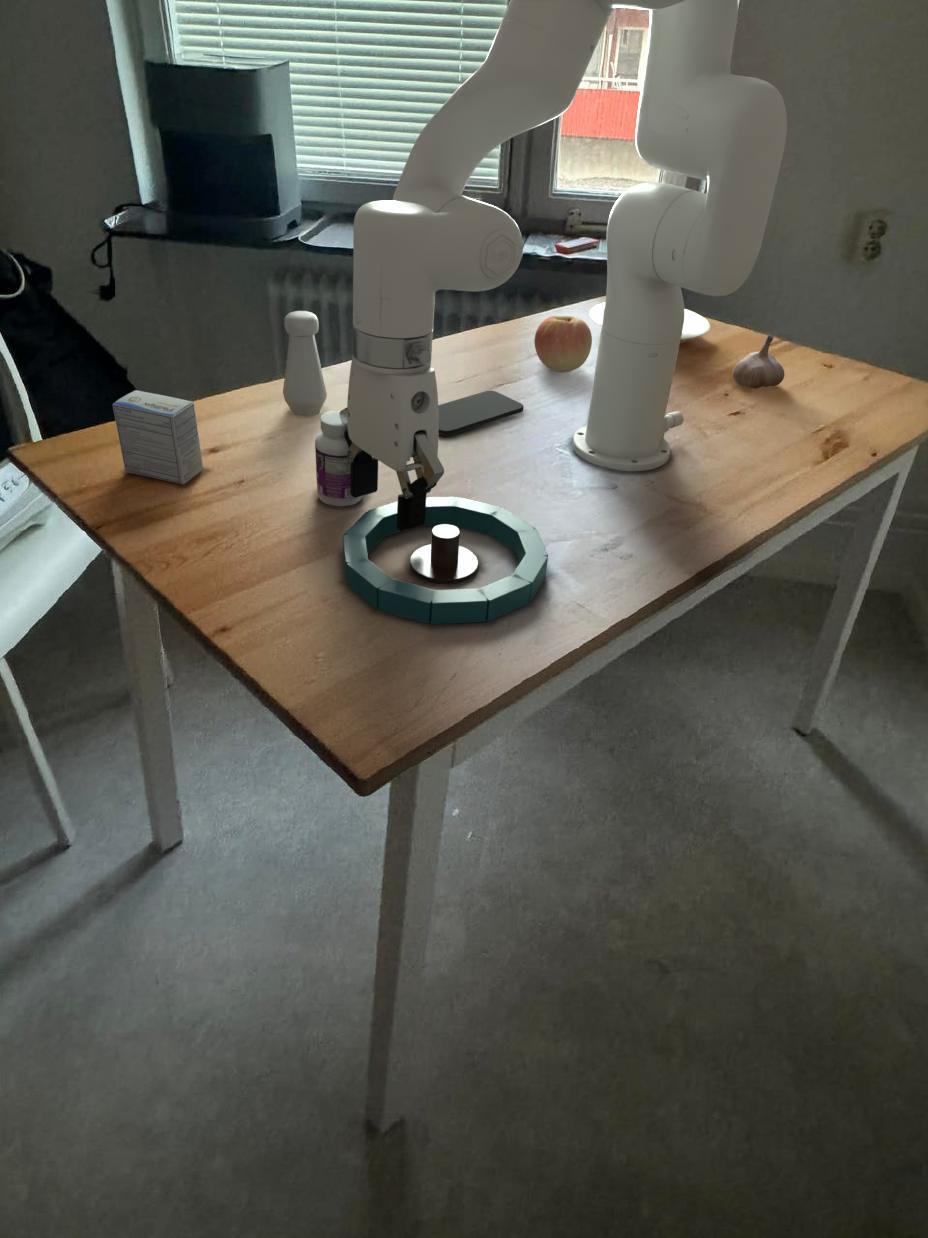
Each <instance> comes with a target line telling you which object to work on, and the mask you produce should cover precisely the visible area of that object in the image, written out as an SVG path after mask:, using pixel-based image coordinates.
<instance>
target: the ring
mask: <svg viewBox="0 0 928 1238" xmlns="http://www.w3.org/2000/svg"><path fill="white" fill-rule="evenodd" d="M397 507H398V500H397V501H394V502H391V503H387V504H384V505H381V506H378V507H375V508H372V509H368V510H367V511H365V512H364V513H363V514H362V515H361V516H360V517H359V518H358V519H357V520H356V521H355V522H354V523H353V524H352V525H351V526H350V527H349V528H348V529H347V530H346V531H345V532H344V533H343V535H342V544H343V545H342V546H343V563H344V577H345V583H346V585H348V587H350V588H351V589H352V590H353V591H355V592H356V593H357V594H358V595H359V596H360V597H362V598H363V599H364V600H365V601H366V602H367V603H369V604H370V605H371V606H372V607H373V608H375V609H376V610H378V611H380V612H384V613H388V614H392V615H394V616H398V617H402V618H406V619H409V620H412V621H416V622H420V623H423V624H427V625H430V624H431V625H443V624H444V625H445V624H466V623H467V624H469V623H486V622H490V621H492V620H495V619H496V618H499V617H501V616H504V615H506V614H508V613H511V612H512V611H515V610H518V609H520V608H521V607H525V606H526V605H528V604H530V603H531V601H532V600H533V598H534V596H535V595H536V594H537V591H538V590H539V588H540V586H541V585H542V583H543V581H544V580H545V578H546V575H547V568H548V560H549V554H548V552H547V549H546V546H545V545H544V543H543V540H542V538H541V536H540V533H539V531H538V529H536V527H535V526H533V525H531V524H530V523H528V522H527V521H526V520H523V519H522V518H520V516H517V515H516V514H514V513H513V512H511V511H509V510H508V509H506V508H504V507H503V506H498V505H495V504H490V503H485V502H481V501H477V500H473V499H469V498H465V497H459V496H426V510H425V522H424V524H423V525H422V526H421V527H435V526H437V525H442V524H448V525H453V526H455V527H459V528H463V529H468V530H471V531H475V532H479V533H484V534H488V535H491V536H492V537H493V538H495V540H498V541H499V542H501V543H503V544H504V545H505V546H507V547H508V548H510V549H511V550H512V551H515V554H516V557H517V559H518V562H519V564H518V565H517V567H516V568H515V570H514V571H513V573H512V574H509V575H508V576H506V577H503V578H501V579H499V580H496V581H493V582H491V583H489V584H486V585H484V586H482V587H479V588H459V589H458V588H455V589H432V588H428V587H424V586H421V585H417V584H413V583H409V582H406V581H401V580H398V579H394V578H392V576H390V575H388V574H387V573H386V572H385V571H384V570H383V569H381V568H380V567H379V566H377V565H376V564H375V563H374V562H373V561H371V560H370V559H369V558H368V554H369V553H370V552H371V551H372V550H373V548H374V547H376V546H377V544H378V543H379V542H380V541H381V540H382V539H383V538H385V537H387V536H391V535H394V534H396V533H397V534H398V533H399V532H401V531H400V530H398V529H397Z"/></svg>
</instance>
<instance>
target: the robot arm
mask: <svg viewBox="0 0 928 1238" xmlns="http://www.w3.org/2000/svg"><path fill="white" fill-rule="evenodd" d="M616 8H623V9H634V10H645V11H649V25H648V36H647V43H646V51H645V58H644V67H643V73H642V80H641V86H640V87H641V88H640V95H639V101H638V109H637V114H636V116H637V117H636V125H635V148H636V151H637V153H638V156H639V157H640V159H641V160H642V161H643V162H645V163H646V164H647V165H649V166H651V167H653V168H656V169H658V170H662V171H664V170H665V171H668V172H672V173H676V174H680V175H684V176H687V177H690V178H694V179H696V180H702V181H707V187H706V193H705V192H701V191H698V190H695V189H692V188H686V187H685V188H684V187H679V186H675V185H671V184H666V183H662V182H659V181H658V182H657V181H651V182H650V181H648V182H643V183H638V184H636V185H633V186H630V188H628V189H627V190H625V191H624V192H623V193H622V194H621V195H620V196H619V198H618V199H617V200H616V201H615V203H614V205H613V206H612V209H611V211H610V214H609V217H608V220H607V226H606V235H605V237H606V239H605V241H606V244H605V245H606V265H607V271H606V273H607V274H606V275H607V277H606V292H605V301H604V303H605V308H604V315H603V322H602V326H601V328H600V329H601V330H600V335H599V336H600V337H599V340H598V341H599V343H598V349H597V355H596V361H595V367H594V368H595V369H594V375H593V383H592V390H591V395H590V403H589V409H588V414H587V415H588V416H587V421H586V422H587V423H586V425H585V426H583V427H581V428H579V429H578V430H576V431H575V432H574V433H573V437H572V444H571V445H572V449H573V451H574V452H575V453H576V455H578V456H579V457H580V458H582V459H583V460H585V461H587V462H588V463H591V464H593V465H595V466H598V467H602V468H605V469H608V470H609V469H610V470H614V471H622V472H643V471H650V470H654V469H657V468H659V467H662V466H664V464H666V463H667V462H668V460H669V459H670V455H671V446H670V444H669V442H668V441H667V440H666V439H665V435H666V433H667V432H668V431H669V430H670V429H673V428H675V427H678V426H681V425H683V423H684V415H683V413H682V412H681V411H679V410H677V411H673V412H669V413H667V408H668V403H669V399H670V393H671V388H672V383H673V379H674V374H675V369H676V364H677V359H678V356H679V355H678V353H679V349H680V344H681V343H680V340H681V336H682V331H683V325H684V309H685V302H684V296H683V291H682V289H686V290H688V291H691V292H694V293H698V294H701V295H704V296H709V297H725V296H729V295H731V294H734V293H735V292H736V291H737V290H739V289H740V288H741V287H742V286H743V285H744V284H745V283H746V282H747V280H748V278H749V277H750V275H751V274H752V272H753V269H754V268H755V265H756V263H757V260H758V258H759V254H760V251H761V247H762V244H763V240H764V236H765V233H766V232H765V231H766V228H767V223H768V220H769V215H770V213H771V212H770V211H771V206H772V204H773V203H772V202H773V199H774V194H775V191H776V186H777V183H778V182H777V181H778V178H779V173H780V169H781V164H782V160H783V157H784V152H785V146H786V142H787V134H788V118H787V117H788V116H787V109H786V104H785V100H784V98H783V96H782V94H781V93H780V91H779V90H778V89H777V87H775V85H773V84H772V83H770V82H768V81H766V80H763V79H762V78H759V77H753V76H748V75H747V76H746V75H741V74H740V75H738V74H732V72H731V66H732V65H731V63H732V57H733V50H734V42H735V37H736V30H737V24H738V16H739V3H738V0H509V3H508V5H507V8H506V10H505V13H504V15H503V17H502V20H501V23H500V24H499V26H498V29H497V32H496V34H495V36H494V39H493V41H492V44H491V46H490V48H489V51H488V53H487V56H486V57H485V59H484V61H483V62H482V64H481V65H480V66H479V67H478V69H476V71H475V72H474V73H472V75H470V76H469V77H468V78H467V79H466V80H465V81H464V82H463V83H462V84H461V85H460V86H458V88H456V90H455V91H454V92H453V93H452V94H451V95H450V96H449V98H448V99H447V100H446V101H445V102H444V103H443V105H442V106H440V108H439V109H438V110H437V111H436V112H435V113H434V114H433V115H432V117H431V118H430V119H429V121H428V122H427V123H426V124H425V125H424V127H423V129H422V130H421V131H420V133H419V134H418V136H417V138H416V140H415V142H414V144H413V146H412V148H411V149H410V153H409V154H408V157H407V159H406V162H405V165H404V167H403V169H402V172H401V175H400V177H399V179H398V183H397V185H396V189H395V190H394V194H393V197H392V200H374V201H369V202H366V203H364V204H362V205H361V206H360V207H359V208H358V209H357V211H356V213H355V215H354V219H353V240H352V241H353V251H352V254H353V255H352V256H353V257H352V258H353V259H352V262H353V263H352V357H351V363H350V369H349V377H348V389H347V402H346V405H347V406H346V407H345V408H343V409H341V410H339V411H340V413H339V415H340V419H341V422H342V424H344V426H345V430H346V431H345V432H344V438H345V440H346V442H347V444H348V447H349V450H348V452H347V454H348V458H349V460H350V461H353V462H351V472H350V494H351V495H352V496H353V497H355V498H356V497H360V496H363V495H364V496H366V495H370V494H373V493H377V491H378V488H379V487H378V486H379V462H380V463H381V464H383V465H385V466H386V467H388V468H390V469H392V470H393V471H395V472H396V475H397V479H398V483H399V486H400V489H401V494H398V496H397V501H398V507H397V529H398V530H400V532H405V531H408V530H412V529H415V528H418V527H423V526H422V525H423V524H424V522H425V510H426V497H427V494H429V493H431V491H432V489H434V488H435V487H436V486H437V483H438V482H439V481H440V479H441V478H442V477H443V475H444V474H445V468H444V466H443V464H442V462H441V460H440V459H439V456H438V454H439V435H440V434H439V412H438V405H439V395H438V394H439V393H438V383H437V377H436V372H435V371H436V370H435V368H433V367H432V366H431V365H432V355H433V353H432V352H433V337H434V336H433V335H434V324H435V323H434V320H435V306H436V305H435V304H436V292H438V291H440V290H443V291H444V290H445V291H459V292H460V291H462V292H484V291H490V290H493V289H496V288H498V287H500V286H501V285H503V284H505V283H506V282H508V281H509V279H510V278H512V276H513V275H514V274H515V272H516V271H517V270H518V268H519V266H520V264H521V261H522V259H523V252H524V241H523V236H522V232H521V230H520V228H519V226H518V224H517V223H516V221H515V220H514V219H513V218H512V217H511V215H509V214H508V213H507V212H506V211H504V210H502V209H501V208H499V207H497V206H494V205H492V204H489V203H487V202H484V201H481V200H477V199H474V198H472V197H469V196H467V195H463V192H464V190H465V189H466V188H465V187H466V186H467V184H468V182H469V179H470V178H471V176H472V175H473V173H474V172H475V170H476V169H477V168H478V167H479V165H480V164H481V162H482V161H483V160H484V159H485V158H486V157H487V156H488V155H489V154H490V153H491V152H492V151H493V150H495V149H496V148H497V147H498V146H500V145H501V144H503V143H505V142H506V141H508V140H510V139H512V138H514V137H516V136H518V135H520V134H523V133H525V132H527V131H530V130H532V129H535V128H537V127H539V126H542V125H543V124H547V123H548V122H550V121H552V120H554V119H556V118H558V117H560V116H561V115H563V114H564V113H565V112H566V111H567V110H568V109H569V108H570V107H571V105H572V103H573V102H574V100H575V98H576V94H577V92H578V89H579V86H580V85H581V83H582V80H583V78H584V76H585V73H586V71H587V68H588V66H589V65H590V62H591V59H592V57H593V55H594V52H595V50H596V48H597V46H598V44H599V41H600V39H601V37H602V34H603V32H604V30H605V27H606V25H607V23H608V21H609V20H610V16H611V15H612V12H613V11H614V10H615V9H616ZM666 413H667V414H666ZM411 458H412V460H413V462H412V463H408V462H409V461H410V460H411ZM411 471H414V472H415V475H416V479H415V480H413V481H412V482H411V478H410V476H409V472H411ZM364 496H363V497H364Z"/></svg>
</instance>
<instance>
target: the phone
mask: <svg viewBox="0 0 928 1238" xmlns="http://www.w3.org/2000/svg"><path fill="white" fill-rule="evenodd" d="M524 407H525V406H524V404H523V403H521V402H520V401H517V400H515V399H513V398H511V397H509V396H507V395H504V394H502V393H500V392H498V391H495V390H485V391H481V392H478V393H475V394H471V395H468V396H464V397H461V398H458V399H454V400H452V401H447V402H445V403H442V404H438V412H439V435H441V436H445V437H446V436H447V437H449V436H453V435H456V434H459V433H462V432H466V431H469V430H471V429H475V428H477V427H481V426H484V425H487V424H490V423H492V422H496V421H500V420H503V419H505V418H508V417H512V416H514V415H517V414H521V413H522V412H524Z"/></svg>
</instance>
